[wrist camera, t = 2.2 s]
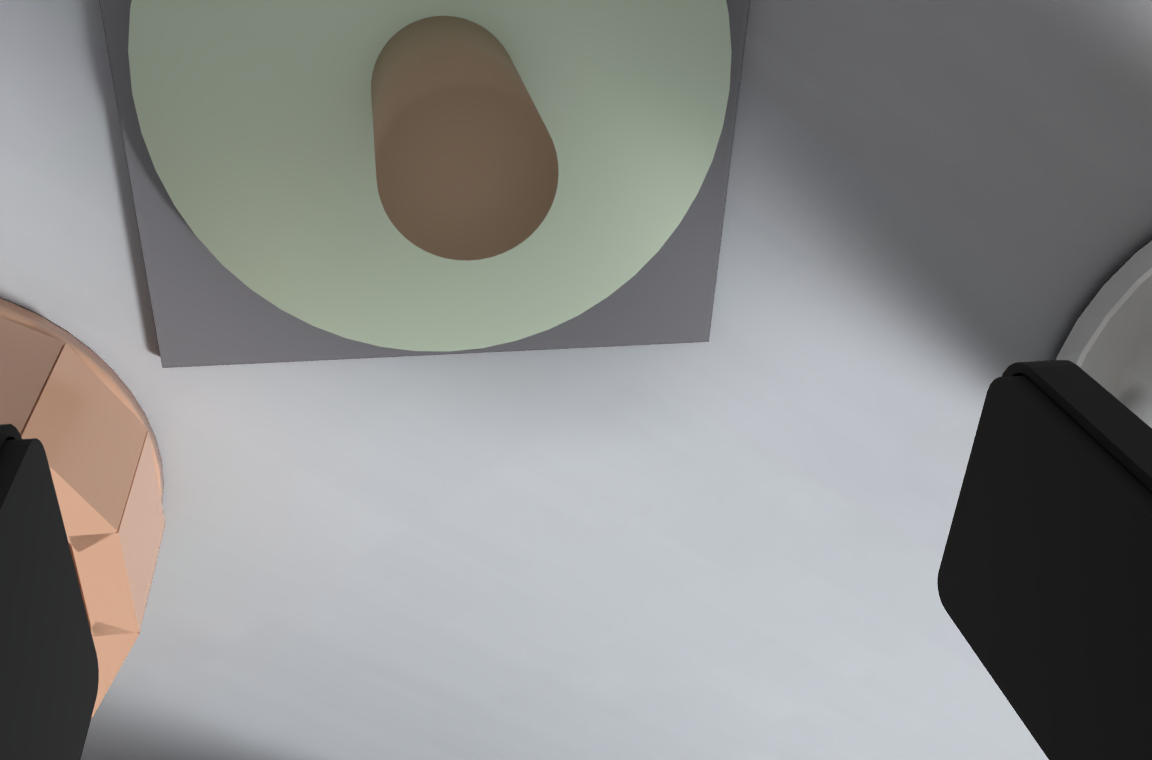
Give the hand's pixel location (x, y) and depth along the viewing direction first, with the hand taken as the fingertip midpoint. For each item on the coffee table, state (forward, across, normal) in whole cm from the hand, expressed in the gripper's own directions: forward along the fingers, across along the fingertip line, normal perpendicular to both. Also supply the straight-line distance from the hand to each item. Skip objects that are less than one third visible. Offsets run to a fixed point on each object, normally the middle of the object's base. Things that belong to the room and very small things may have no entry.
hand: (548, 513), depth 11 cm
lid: (+16, 0, 0) cm, 16 cm away
